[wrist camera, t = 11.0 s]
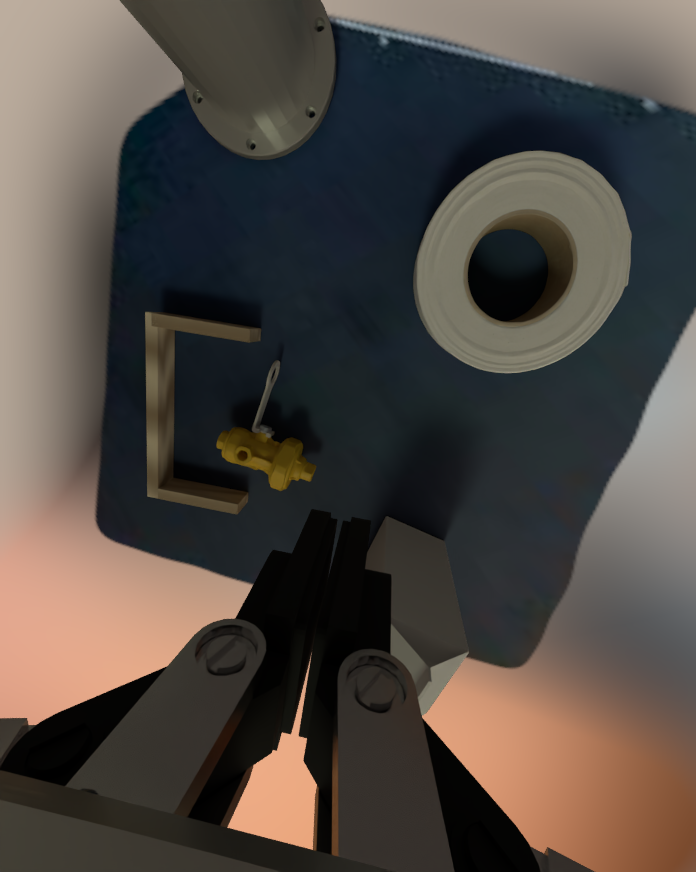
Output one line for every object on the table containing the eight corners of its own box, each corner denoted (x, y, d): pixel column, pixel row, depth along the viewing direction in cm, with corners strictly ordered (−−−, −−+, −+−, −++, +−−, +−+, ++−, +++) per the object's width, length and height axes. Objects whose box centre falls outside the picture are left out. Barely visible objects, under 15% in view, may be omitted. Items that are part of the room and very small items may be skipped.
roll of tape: (588, 359, 35) (622, 366, 30) (416, 371, 38) (419, 380, 32) (605, 163, 31) (649, 131, 26) (409, 190, 33) (412, 166, 28)
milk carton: (444, 540, 42) (481, 703, 24) (416, 587, 45) (431, 770, 27) (386, 514, 42) (379, 659, 24) (361, 563, 44) (337, 729, 26)
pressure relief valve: (202, 467, 37) (300, 504, 37) (240, 347, 35) (343, 386, 35) (223, 456, 42) (309, 488, 42) (257, 352, 40) (347, 385, 40)
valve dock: (163, 312, 39) (145, 311, 36) (261, 328, 38) (250, 329, 35) (163, 485, 45) (147, 496, 42) (247, 501, 44) (237, 514, 41)
